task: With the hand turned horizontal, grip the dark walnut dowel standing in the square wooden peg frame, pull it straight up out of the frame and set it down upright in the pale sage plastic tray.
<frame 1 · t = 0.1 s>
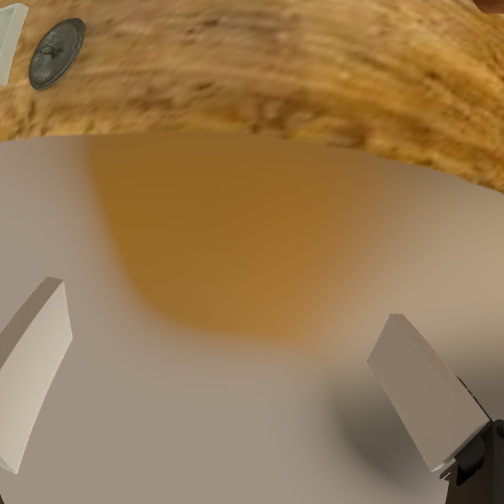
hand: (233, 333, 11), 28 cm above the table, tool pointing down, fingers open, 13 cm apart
lid: (61, 55, 26), on the table
disposable coffee cup: (479, 0, 26), on the table
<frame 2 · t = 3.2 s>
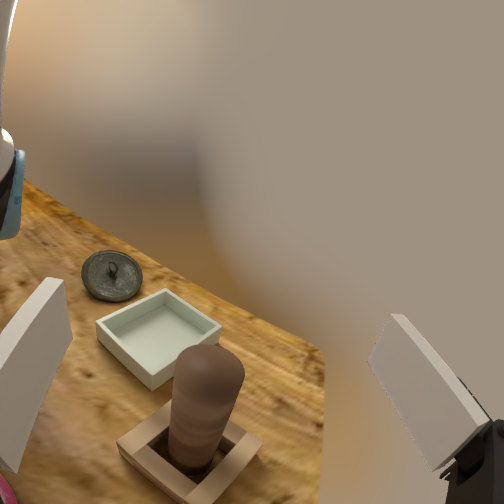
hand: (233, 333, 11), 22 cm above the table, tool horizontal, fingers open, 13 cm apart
tray: (158, 341, 37), on the table
lid: (112, 286, 45), on the table
dowel: (196, 424, 21), in the square wooden peg frame
square wooden peg frame: (189, 456, 24), on the table
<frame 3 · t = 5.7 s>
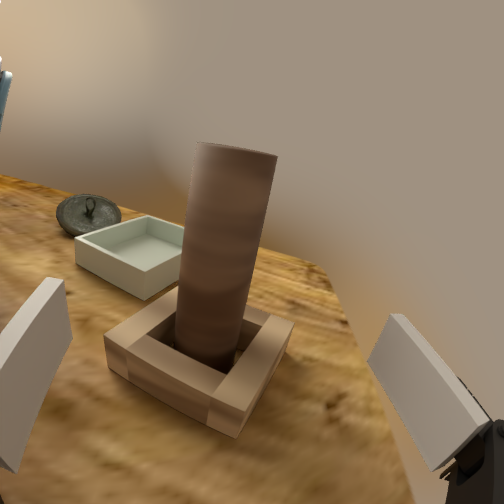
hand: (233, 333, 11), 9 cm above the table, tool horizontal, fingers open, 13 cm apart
tray: (144, 261, 34), on the table
lid: (88, 228, 40), on the table
dowel: (215, 273, 18), in the square wooden peg frame
square wooden peg frame: (202, 361, 21), on the table
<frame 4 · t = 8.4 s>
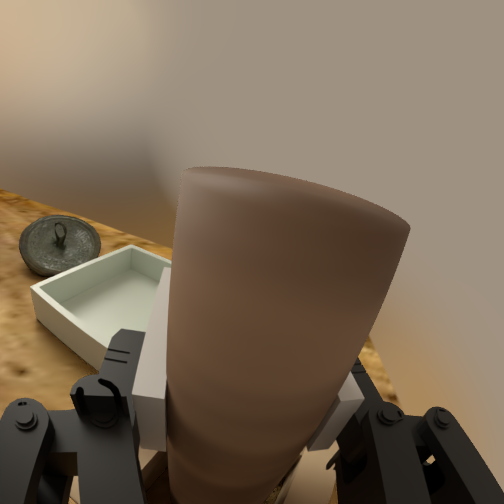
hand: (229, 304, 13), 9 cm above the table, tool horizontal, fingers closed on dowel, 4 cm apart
tray: (126, 314, 24), on the table
lid: (60, 261, 30), on the table
dowel: (235, 429, 8), in the square wooden peg frame, touching gripper
square wooden peg frame: (213, 497, 11), on the table
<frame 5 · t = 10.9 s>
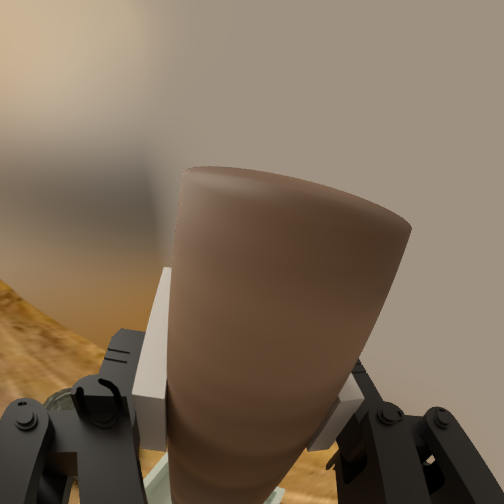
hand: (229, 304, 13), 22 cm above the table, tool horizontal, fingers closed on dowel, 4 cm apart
lid: (90, 445, 22), on the table
dowel: (235, 429, 8), point 20 cm above the table, touching gripper
when the fingers open (11 cm above the table, at t = 13.4 s): dowel stays where it is, resting on tray.
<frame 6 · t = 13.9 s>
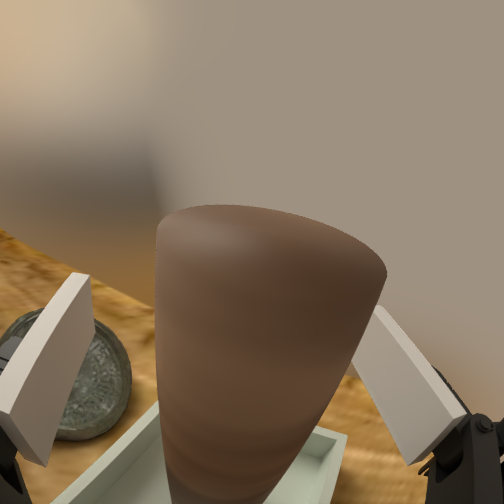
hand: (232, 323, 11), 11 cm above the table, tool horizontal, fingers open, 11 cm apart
lid: (67, 390, 17), on the table
dowel: (227, 445, 8), in the tray, point 8 cm above the table
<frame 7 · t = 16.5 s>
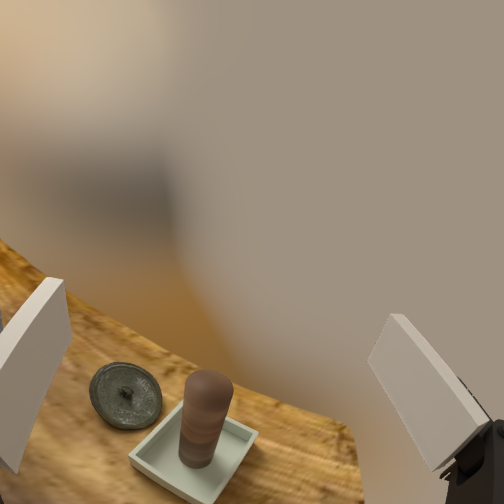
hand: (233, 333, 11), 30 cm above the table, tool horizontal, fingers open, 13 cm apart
tray: (194, 456, 31), on the table
lid: (127, 404, 35), on the table
dowel: (201, 427, 27), in the tray, point 8 cm above the table
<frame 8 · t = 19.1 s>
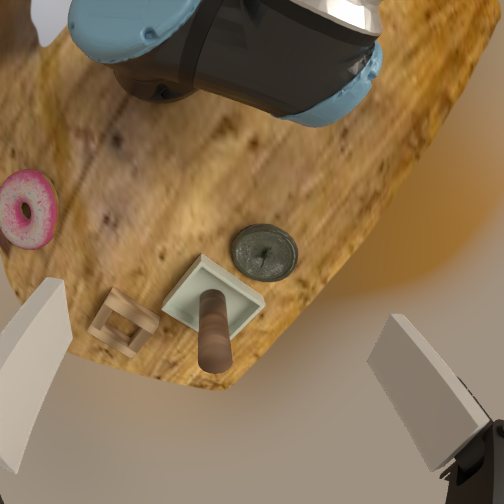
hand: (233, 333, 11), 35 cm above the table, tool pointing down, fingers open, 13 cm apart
tray: (212, 298, 50), on the table
lid: (262, 249, 48), on the table
donut: (34, 205, 39), on the table
dowel: (213, 327, 43), in the tray, point 8 cm above the table
square wooden peg frame: (124, 319, 50), on the table
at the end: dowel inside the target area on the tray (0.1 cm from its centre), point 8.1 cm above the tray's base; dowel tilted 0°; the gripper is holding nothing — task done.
